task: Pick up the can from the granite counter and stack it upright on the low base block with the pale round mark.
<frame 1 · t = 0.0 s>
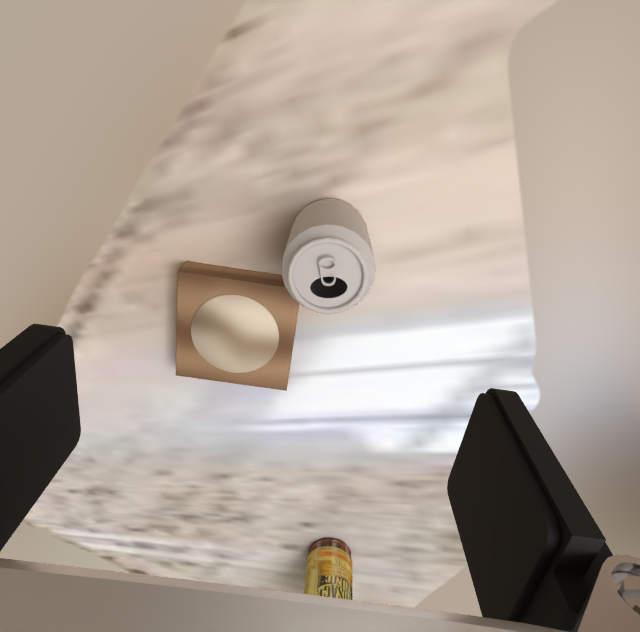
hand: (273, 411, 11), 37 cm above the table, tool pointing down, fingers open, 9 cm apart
sauce bottle: (328, 548, 67), on the table
base: (240, 321, 51), on the table
can: (329, 234, 47), on the table
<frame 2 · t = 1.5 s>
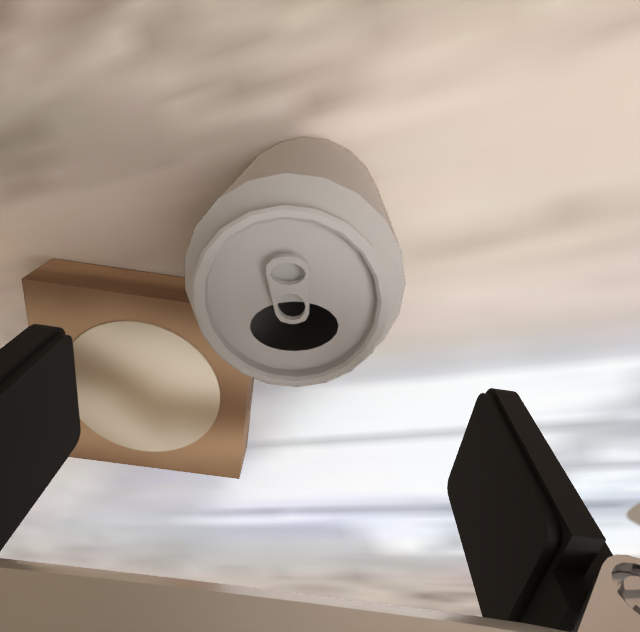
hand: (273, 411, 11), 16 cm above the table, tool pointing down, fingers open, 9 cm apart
base: (159, 361, 30), on the table
can: (309, 208, 25), on the table
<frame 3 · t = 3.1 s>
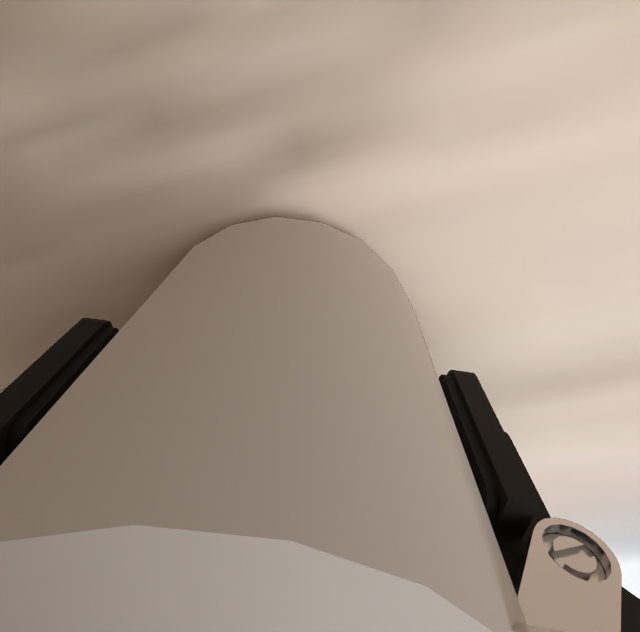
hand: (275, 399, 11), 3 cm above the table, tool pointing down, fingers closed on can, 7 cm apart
can: (288, 328, 15), on the table, touching gripper
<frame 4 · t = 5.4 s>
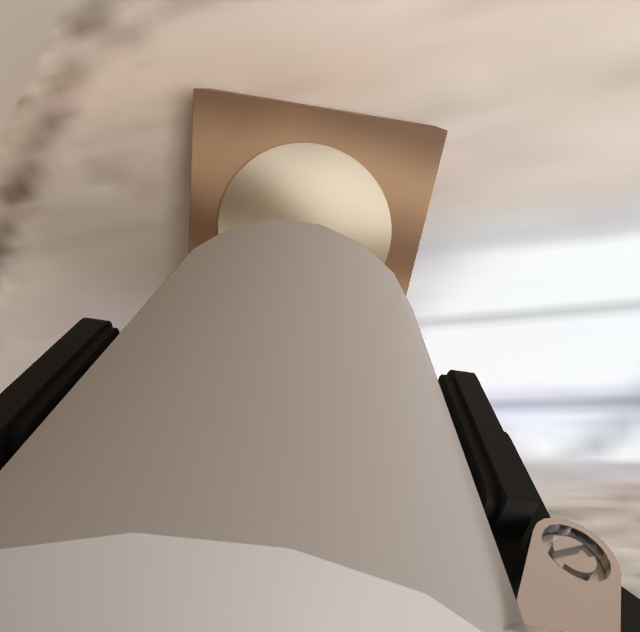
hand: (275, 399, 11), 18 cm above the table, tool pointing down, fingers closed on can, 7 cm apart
base: (307, 219, 27), on the table
can: (288, 329, 15), point 14 cm above the table, touching gripper
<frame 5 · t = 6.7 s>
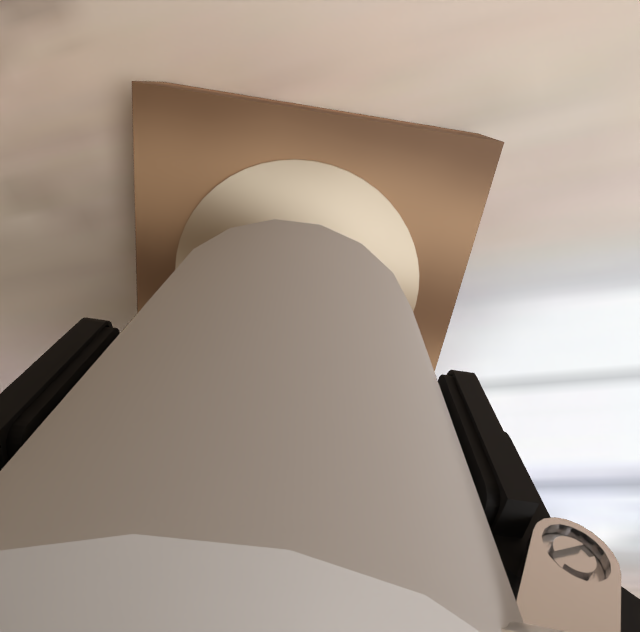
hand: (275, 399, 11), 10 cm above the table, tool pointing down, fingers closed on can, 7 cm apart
base: (302, 258, 20), on the table
can: (288, 330, 15), point 6 cm above the table, touching gripper
when the fingers open (8 cm above the table, at t = 7.8 s): can drops 1 cm, resting on base.
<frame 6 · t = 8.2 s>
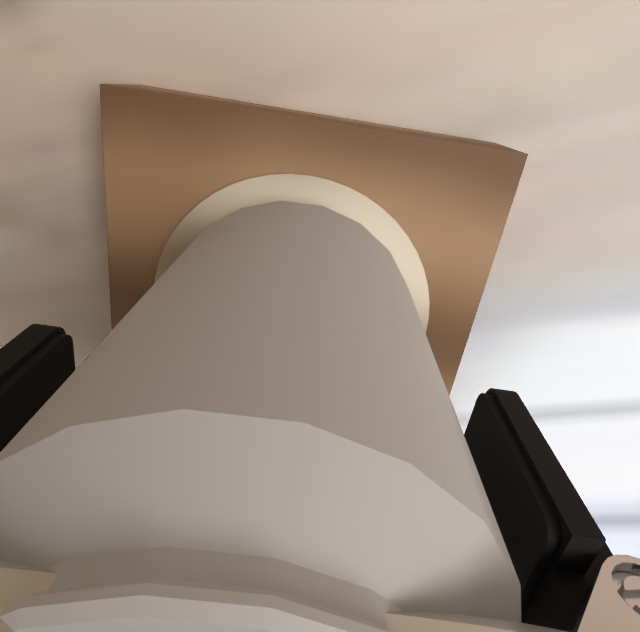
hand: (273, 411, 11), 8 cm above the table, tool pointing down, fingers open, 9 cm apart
base: (297, 279, 18), on the table
can: (292, 307, 16), point 3 cm above the table, touching base
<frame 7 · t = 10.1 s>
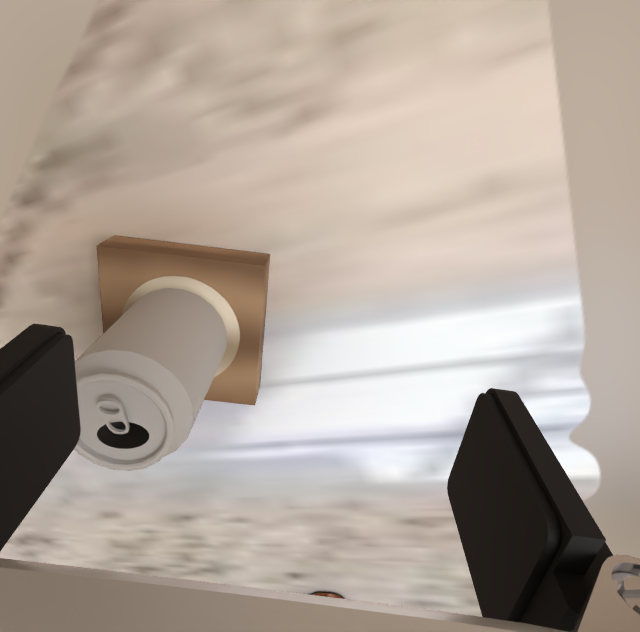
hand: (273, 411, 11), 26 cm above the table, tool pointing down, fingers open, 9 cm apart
base: (192, 315, 39), on the table
can: (181, 328, 36), point 3 cm above the table, touching base
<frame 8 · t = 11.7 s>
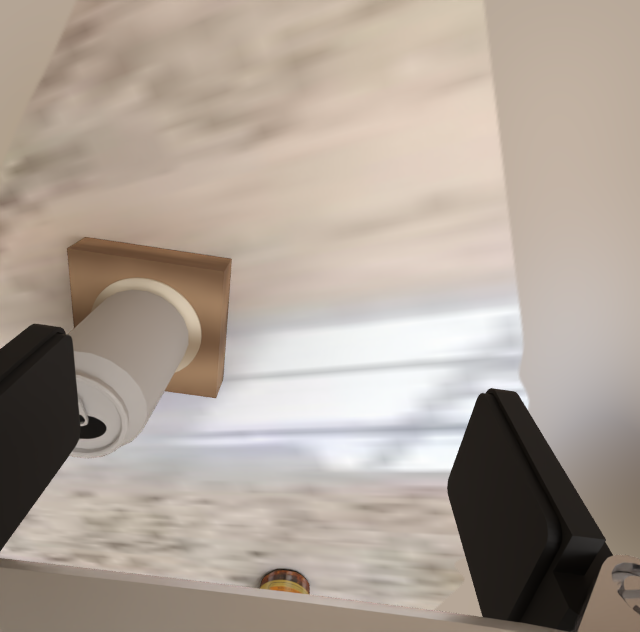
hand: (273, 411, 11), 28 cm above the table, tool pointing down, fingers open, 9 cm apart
sauce bottle: (284, 581, 57), on the table
base: (159, 313, 42), on the table
can: (146, 326, 39), point 3 cm above the table, touching base
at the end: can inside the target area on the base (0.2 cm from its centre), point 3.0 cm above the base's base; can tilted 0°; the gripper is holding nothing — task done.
